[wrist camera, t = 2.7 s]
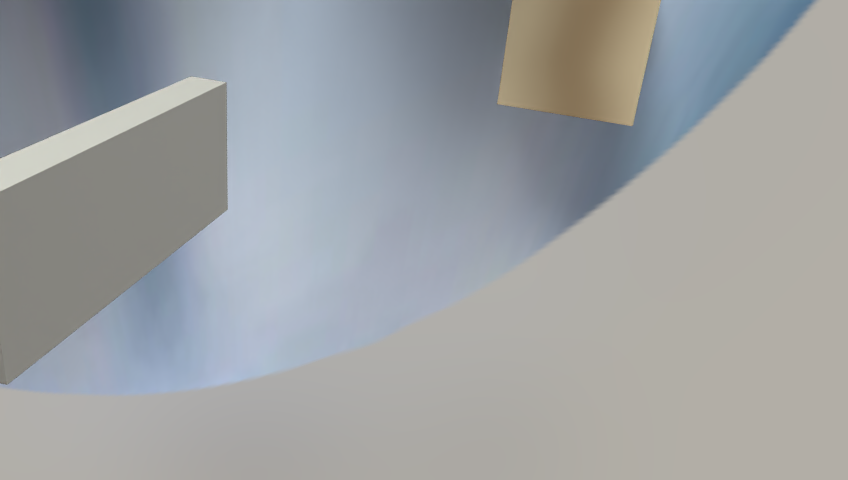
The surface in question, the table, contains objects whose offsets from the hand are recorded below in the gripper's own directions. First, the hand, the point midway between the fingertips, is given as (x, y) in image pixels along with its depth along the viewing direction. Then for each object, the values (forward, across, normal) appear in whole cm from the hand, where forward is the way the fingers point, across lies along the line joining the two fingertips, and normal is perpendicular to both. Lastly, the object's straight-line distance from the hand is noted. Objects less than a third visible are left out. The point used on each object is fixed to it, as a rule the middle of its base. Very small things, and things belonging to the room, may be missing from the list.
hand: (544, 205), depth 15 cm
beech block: (+23, 0, 0) cm, 23 cm away
